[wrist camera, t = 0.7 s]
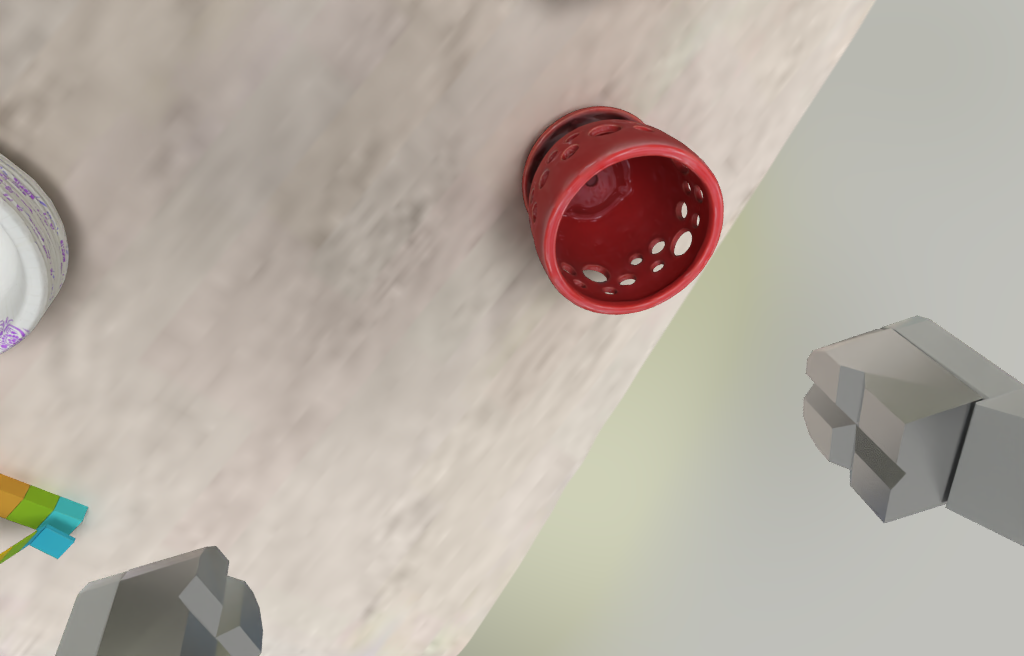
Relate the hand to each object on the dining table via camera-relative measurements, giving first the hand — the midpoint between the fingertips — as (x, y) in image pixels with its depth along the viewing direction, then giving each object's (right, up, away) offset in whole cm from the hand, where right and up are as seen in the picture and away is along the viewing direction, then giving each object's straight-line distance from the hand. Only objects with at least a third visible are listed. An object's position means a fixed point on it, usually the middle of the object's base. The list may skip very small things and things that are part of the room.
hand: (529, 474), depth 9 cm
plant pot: (+6, +15, +45) cm, 48 cm away
